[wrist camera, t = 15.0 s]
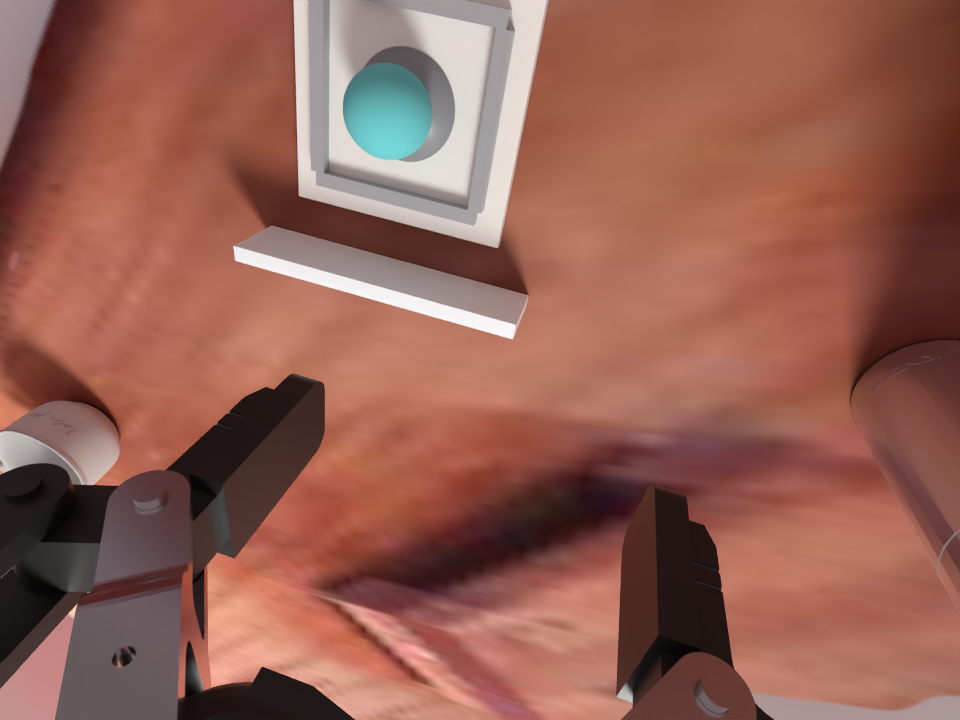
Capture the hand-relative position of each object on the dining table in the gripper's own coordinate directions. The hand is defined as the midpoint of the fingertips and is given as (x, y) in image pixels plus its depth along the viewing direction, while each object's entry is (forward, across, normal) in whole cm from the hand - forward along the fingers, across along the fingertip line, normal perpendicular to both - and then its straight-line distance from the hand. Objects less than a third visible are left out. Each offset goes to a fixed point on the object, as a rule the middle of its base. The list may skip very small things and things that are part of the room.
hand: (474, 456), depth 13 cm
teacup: (+28, +51, +42) cm, 72 cm away
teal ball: (+24, +13, -2) cm, 28 cm away
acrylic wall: (+28, +13, +10) cm, 32 cm away
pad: (+28, +13, -2) cm, 31 cm away
